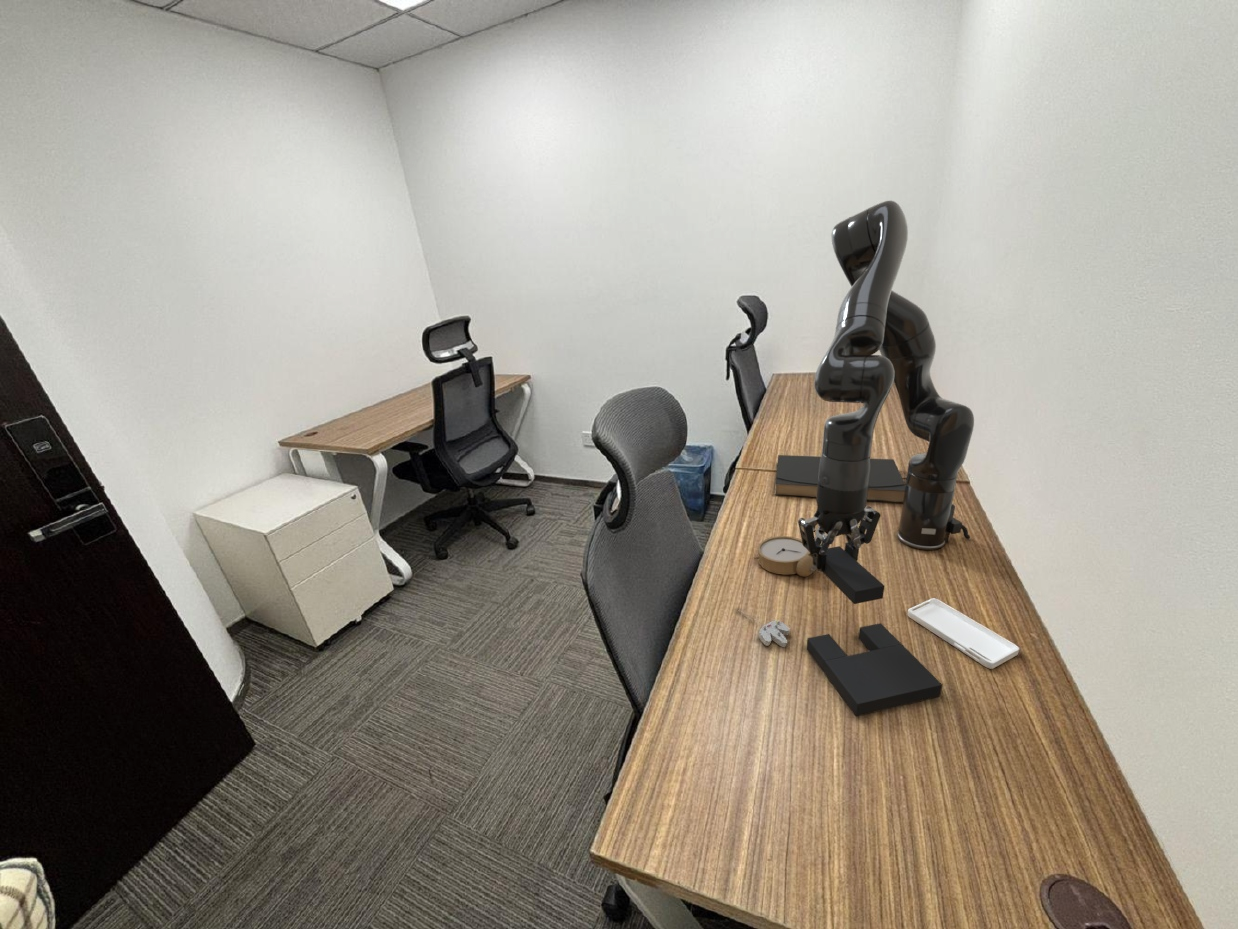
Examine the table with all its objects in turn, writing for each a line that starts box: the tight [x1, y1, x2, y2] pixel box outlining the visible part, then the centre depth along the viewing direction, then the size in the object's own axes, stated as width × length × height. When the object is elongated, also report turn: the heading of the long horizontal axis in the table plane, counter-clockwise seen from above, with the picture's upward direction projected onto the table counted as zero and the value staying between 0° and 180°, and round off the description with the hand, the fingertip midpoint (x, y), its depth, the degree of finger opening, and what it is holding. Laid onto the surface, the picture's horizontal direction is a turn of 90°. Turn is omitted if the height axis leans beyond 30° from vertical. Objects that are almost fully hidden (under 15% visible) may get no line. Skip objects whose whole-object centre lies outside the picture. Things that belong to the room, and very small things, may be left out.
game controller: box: [739, 609, 790, 648], centre depth 90 cm, size 6×12×3 cm, turn 49°
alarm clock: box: [753, 535, 819, 577], centre depth 108 cm, size 11×5×15 cm
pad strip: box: [822, 545, 885, 605], centre depth 82 cm, size 12×5×2 cm, turn 10°
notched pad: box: [806, 622, 943, 717], centre depth 79 cm, size 14×14×2 cm
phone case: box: [907, 597, 1020, 670], centre depth 85 cm, size 7×1×15 cm
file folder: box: [774, 454, 906, 504], centre depth 143 cm, size 33×4×24 cm
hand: (834, 566), depth 85 cm, fingers closed on pad strip, 5 cm apart
